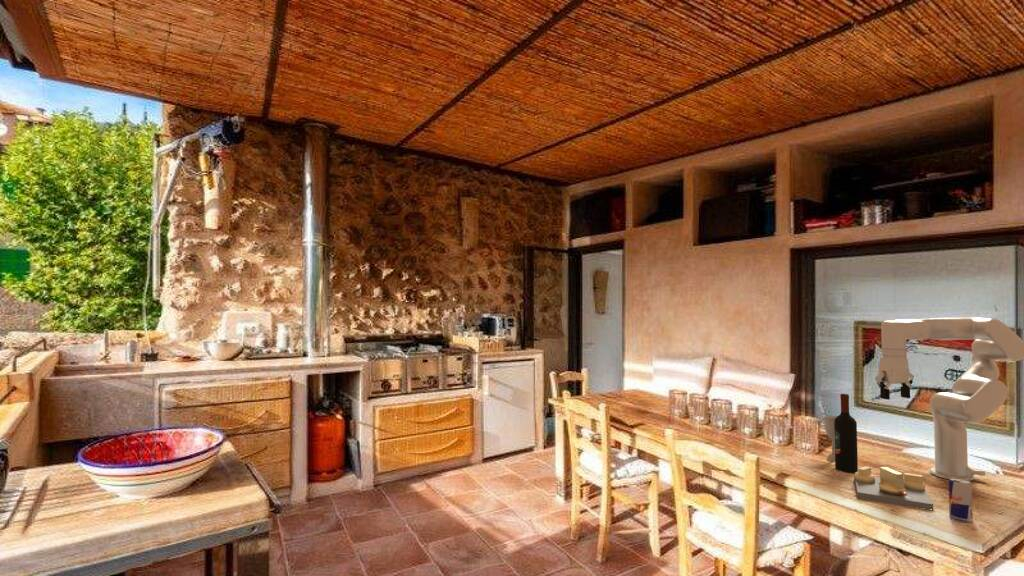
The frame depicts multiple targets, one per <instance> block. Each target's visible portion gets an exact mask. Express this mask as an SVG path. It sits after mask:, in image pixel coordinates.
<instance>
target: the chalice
mask: <svg viewBox="0 0 1024 576" xmlns="http://www.w3.org/2000/svg"><path fill="white" fill-rule="evenodd" d="M837 416H838V415H823V416H822V418H823V419H824V431H825V433H826V434H827V437H828V438H829V439H831V444H830V445H831V447H830V449H831V453H829V454H828V456H827V458H826V460H828V461H830V462H834V463H835V436H834V420H835V418H836V417H837Z"/></svg>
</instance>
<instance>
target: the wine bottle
mask: <svg viewBox="0 0 1024 576" xmlns="http://www.w3.org/2000/svg"><path fill="white" fill-rule="evenodd" d="M849 395H850V394H848V393H840V397H839V398H840V414H839V415H836V416H837V417H836V418H835V420H834V436H835V462H834V465H835V467H834V468H835V470H837V471H838V472H842V473H847V474H855V472H858V468H859V464H858V461H859V460H858V455H859V454H858V429H857V428H858V424H857V420H856V419H855V418H854V417H853V416H851V415H850V396H849Z"/></svg>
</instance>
